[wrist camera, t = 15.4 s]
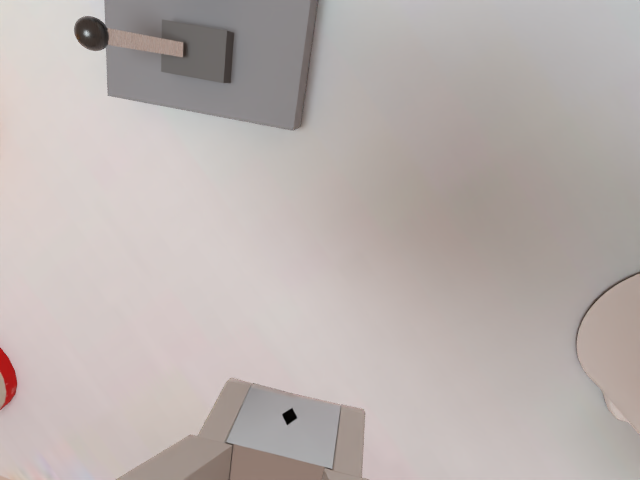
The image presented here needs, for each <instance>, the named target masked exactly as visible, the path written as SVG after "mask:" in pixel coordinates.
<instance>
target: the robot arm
mask: <svg viewBox="0 0 640 480" xmlns="http://www.w3.org/2000/svg"><path fill="white" fill-rule="evenodd" d="M577 354H578V359H579V361H580V364H581V366H582V368H583V370H584V371H585V373H586V374H587V375H588V377H589V378H590V379H591V380H592V381H593V382H594V383H595V384H596V385H597V386H598V387H599V388H600V389H601V390H602V392H603V395H604V399H605V402H606V405H607V407H608V409H609V411H610V412H611V413H612V414H613V415H614V416H615V417H616V418H617V419H618V420H621V421H627V422H629V423H630V424H631V426H632V427H633V428H634V429H635V430H636V431H637V432H638V433H639V435H640V274H637V275H635V276H633V277H630V278H628V279H626V280H624V281H622V282H621V283H619V284H617V285H616V286H614V287H613V288H611V289H610V290H608V291H607V292H606V293H605V294H604V295H602V296H601V297H600V298H599V299H598V300H597V301H596V302H595V303H594V305H593V306H592V307H591V308H590V310H589V311H588V312H587V314H586V315H585V317H584V319H583V321H582V323H581V326H580V328H579V332H578V336H577ZM364 427H365V411H364V409H360V408H356V407H351V406H347V405H342V404H341V405H340V404H337V403H332V402H328V401H324V400H319V399H315V398H311V397H306V396H302V395H298V394H293V393H289V392H285V391H281V390H278V389H274V388H270V387H266V386H263V385H259V384H255V383H253V384H252V383H249V382H245V381H242V380H238V379H234V378H230V379H229V380H228V381H227V382H226V384H225V386H224V387H223V389H222V391H221V393H220V395H219V397H218V399H217V400H216V402H215V404H214V406H213V408H212V410H211V412H210V414H209V415H208V417H207V419H206V421H205V423H204V425H203V427H202V429H201V430H200V432H199V434H198V436H194V435H189V436H187V437H186V438H184V439H182V440H181V441H179V442H177V443H176V444H174V445H172V446H171V447H169V448H167V449H166V450H164V451H162V452H161V453H159V454H157V455H156V456H154V457H152V458H151V459H149V460H147V461H146V462H144V463H142V464H141V465H139V466H137V467H136V468H134V469H132V470H131V471H129V472H127V473H126V474H124V475H123V476H121V477H119V478H118V479H116V480H369V479H365V478H362V464H363V445H364Z"/></svg>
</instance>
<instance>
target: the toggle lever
mask: <svg viewBox="0 0 640 480" xmlns="http://www.w3.org/2000/svg"><path fill="white" fill-rule="evenodd" d="M74 32H75V36H76V38H77V40H78V42H79V43H80V44H81V45H82V46H84V47H85V48H87V49H89V50H93V51H99V50H102V49H104V48H105V47H106V46H107V45H111V46H117V47H123V48H130V49H136V50H142V51H148V52H154V53H160V54H166V55H172V56H178V57H183V42H178V41H173V40H168V39H163V38H157V37H152V36H147V35H142V34H136V33H131V32H126V31H121V30H115V29H110V28H107V27H106V26H105V24H104V23H103V22H102V21H100V20H99V19H97V18H95V17H91V16H85V17H82V18H80V19H79V20H78V21H77V22H76V24H75V27H74Z"/></svg>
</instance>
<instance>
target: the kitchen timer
mask: <svg viewBox="0 0 640 480" xmlns="http://www.w3.org/2000/svg"><path fill="white" fill-rule="evenodd" d="M16 387H17V380H16V375H15V370H14V368H13V366H12V364H11V362H10V360H9V358H8V357H7V355H6V354H5V353H4V352H3V350H2V349H1V348H0V410H1V409H2V408H3V407H4V406H5V405H7V404H8V403H9V402H10V401H11V399H12V398H13V396H14V395H15V393H16Z"/></svg>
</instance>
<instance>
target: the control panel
mask: <svg viewBox="0 0 640 480" xmlns="http://www.w3.org/2000/svg"><path fill="white" fill-rule="evenodd" d="M317 5H318V0H105V26H106V27H107V28H110V29H115V30H121V31H126V32H131V33H136V34H142V35H147V36H152V37H157V38H163V39H168V40H173V41H178V42H183V57H178V56H172V55H166V54H160V53H154V52H148V51H142V50H136V49H130V48H123V47H117V46H111V45H107V46H106V57H107V87H108V96H112V97H118V98H123V99H128V100H134V101H139V102H144V103H150V104H155V105H160V106H166V107H171V108H176V109H182V110H187V111H192V112H197V113H203V114H208V115H213V116H219V117H224V118H229V119H235V120H240V121H245V122H251V123H256V124H261V125H267V126H272V127H277V128H282V129H288V130H295V129H297V128H299V127H300V126H301V119H302V112H303V105H304V97H305V90H306V83H307V76H308V69H309V62H310V55H311V48H312V40H313V33H314V26H315V19H316V12H317Z"/></svg>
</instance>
